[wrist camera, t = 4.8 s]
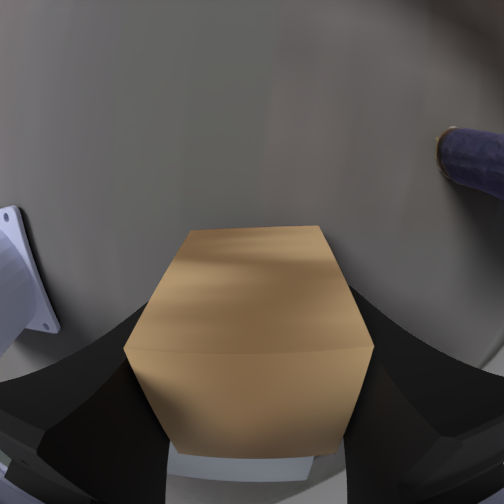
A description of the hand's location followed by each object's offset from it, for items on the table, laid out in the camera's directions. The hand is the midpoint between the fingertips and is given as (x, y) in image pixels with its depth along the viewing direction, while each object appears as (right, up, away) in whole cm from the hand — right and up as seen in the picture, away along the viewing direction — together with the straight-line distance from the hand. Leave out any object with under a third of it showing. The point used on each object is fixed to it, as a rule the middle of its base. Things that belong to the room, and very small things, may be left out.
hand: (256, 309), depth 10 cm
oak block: (0, +1, +2) cm, 2 cm away
